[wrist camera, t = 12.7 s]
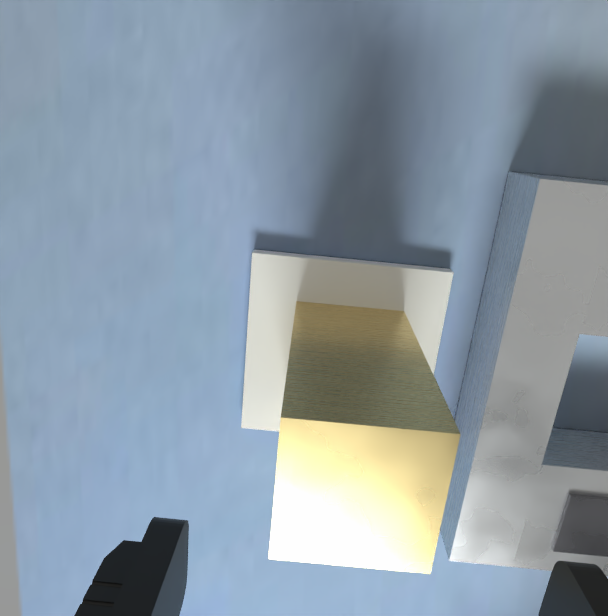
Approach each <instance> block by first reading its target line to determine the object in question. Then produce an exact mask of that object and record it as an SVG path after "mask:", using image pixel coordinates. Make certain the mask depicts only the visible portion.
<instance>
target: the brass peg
mask: <svg viewBox="0 0 608 616" xmlns="http://www.w3.org/2000/svg"><path fill="white" fill-rule="evenodd" d="M460 435H461V434H460V432H459V430H458V427H457V425H456V423H455V421H454V419H453V416H452V414H451V412H450V410H449V408H448V406H447V403H446V401H445V399H444V397H443V395H442V393H441V390H440V388H439V386H438V384H437V382H436V379H435V377H434V375H433V373H432V371H431V369H430V366H429V364H428V362H427V360H426V358H425V355H424V353H423V351H422V349H421V347H420V345H419V342H418V340H417V338H416V336H415V334H414V331H413V329H412V327H411V325H410V323H409V321H408V318H407V316H406V314H405V312H404V311H398V310H387V309H376V308H365V307H355V306H344V305H333V304H322V303H312V302H301V301H296V308H295V315H294V323H293V330H292V337H291V345H290V352H289V359H288V367H287V374H286V382H285V389H284V396H283V404H282V411H281V419H280V431H279V442H278V454H277V466H276V478H275V490H274V502H273V514H272V526H271V538H270V550H269V559H275V560H286V561H297V562H307V563H318V564H329V565H340V566H351V567H362V568H372V569H383V570H394V571H405V572H416V573H426V574H430V573H431V568H432V564H433V559H434V554H435V550H436V545H437V541H438V536H439V531H440V527H441V522H442V518H443V513H444V508H445V504H446V499H447V495H448V490H449V485H450V481H451V476H452V472H453V467H454V462H455V458H456V453H457V449H458V444H459V439H460Z"/></svg>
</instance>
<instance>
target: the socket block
mask: <svg viewBox="0 0 608 616" xmlns="http://www.w3.org/2000/svg"><path fill="white" fill-rule="evenodd" d="M579 334H586V335H596V336H606V337H608V181H599V180H588V179H578V178H568V177H558V176H548V175H538V174H528V173H518V172H508V177H507V181H506V186H505V190H504V195H503V200H502V204H501V209H500V213H499V218H498V223H497V227H496V232H495V236H494V241H493V246H492V250H491V255H490V259H489V264H488V269H487V273H486V278H485V283H484V287H483V292H482V296H481V301H480V306H479V310H478V315H477V319H476V324H475V329H474V333H473V338H472V342H471V347H470V352H469V356H468V361H467V365H466V370H465V375H464V379H463V384H462V388H461V393H460V398H459V402H458V407H457V411H456V416H455V423H456V425H457V427H458V430H459V432H460V434H461V435H460V439H459V444H458V449H457V453H456V458H455V462H454V467H453V472H452V476H451V481H450V485H449V490H448V495H447V499H446V504H445V508H444V513H443V518H442V522H441V527H440V532H441V535H442V538H443V542H444V545H445V548H446V552H447V555H448V558H449V561H456V562H467V563H477V564H487V565H497V566H508V567H518V568H528V569H539V570H549V571H552V570H553V567H554V565H555V563H556V562H557V561H570V562H579V563H589V564H595V565H597V566H599V567H600V568H601V570H602V571H603V572H604V574H605V576H608V433H602V432H592V431H582V430H572V429H561V428H552V427H553V424H554V420H555V417H556V413H557V410H558V406H559V403H560V399H561V396H562V393H563V389H564V386H565V382H566V379H567V375H568V372H569V368H570V365H571V361H572V358H573V355H574V351H575V348H576V344H577V341H578V337H579Z"/></svg>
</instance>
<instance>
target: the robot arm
mask: <svg viewBox="0 0 608 616" xmlns="http://www.w3.org/2000/svg"><path fill="white" fill-rule="evenodd" d="M188 531H189V525H188V521H187V520H178V519H168V518H158V517H154V518H153V519H152V520H151V522H150V524H149V526H148V529H147V531H146V533H145V535H144V537H143V540H142V542H135V541H125V540H124V541H123V542H121V543H120V544H119V545H118V546H117V547H116V548H115V549H114V550H113V551H112V552H111V553H109V554H108V555H107V556H106V557H105V558H104V560H103V562H102V564H101V566H100V567H99V569H98V571H97V573H96V575H95V577H94V579H93V582H92V585H90V587H89V589H88V591H87V593H86V594H85V596H84V598H83V602H82V604H80V606H79V608H78V610H77V612H76V614H75V616H179V614H180V611H181V607H182V604H183V599H184V594H185V589H186V582H187V565H188ZM539 616H608V579H607V577H606V576H605V574H604V572H603V571H602V570H601V568H600V567H599V566H597V565H595V564H589V563H579V562H570V561H557V562H556V563H555V565H554V567H553V570H552V573H551V576H550V580H549V583H548V586H547V589H546V592H545V595H544V598H543V602H542V605H541V608H540V611H539Z"/></svg>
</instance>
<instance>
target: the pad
mask: <svg viewBox="0 0 608 616" xmlns="http://www.w3.org/2000/svg"><path fill="white" fill-rule="evenodd" d="M452 278H453V272H452V270H451V269H446V268H436V267H426V266H416V265H406V264H396V263H386V262H376V261H366V260H355V259H345V258H335V257H325V256H315V255H305V254H295V253H285V252H275V251H265V250H253V252H252V265H251V280H250V296H249V312H248V328H247V344H246V360H245V376H244V392H243V408H242V424H241V428H248V429H258V430H269V431H280V419H281V411H282V404H283V396H284V389H285V382H286V374H287V367H288V359H289V352H290V345H291V337H292V330H293V323H294V315H295V308H296V301H301V302H312V303H322V304H333V305H344V306H355V307H365V308H376V309H387V310H398V311H404V312H405V314H406V316H407V318H408V321H409V323H410V325H411V327H412V329H413V331H414V334H415V336H416V338H417V340H418V342H419V345H420V347H421V349H422V351H423V353H424V355H425V358H426V360H427V362H428V364H429V366H430V369H431V371H432V373H433V375H434V370H435V365H436V360H437V355H438V350H439V345H440V340H441V334H442V329H443V324H444V319H445V314H446V309H447V304H448V299H449V294H450V288H451V283H452Z"/></svg>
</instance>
